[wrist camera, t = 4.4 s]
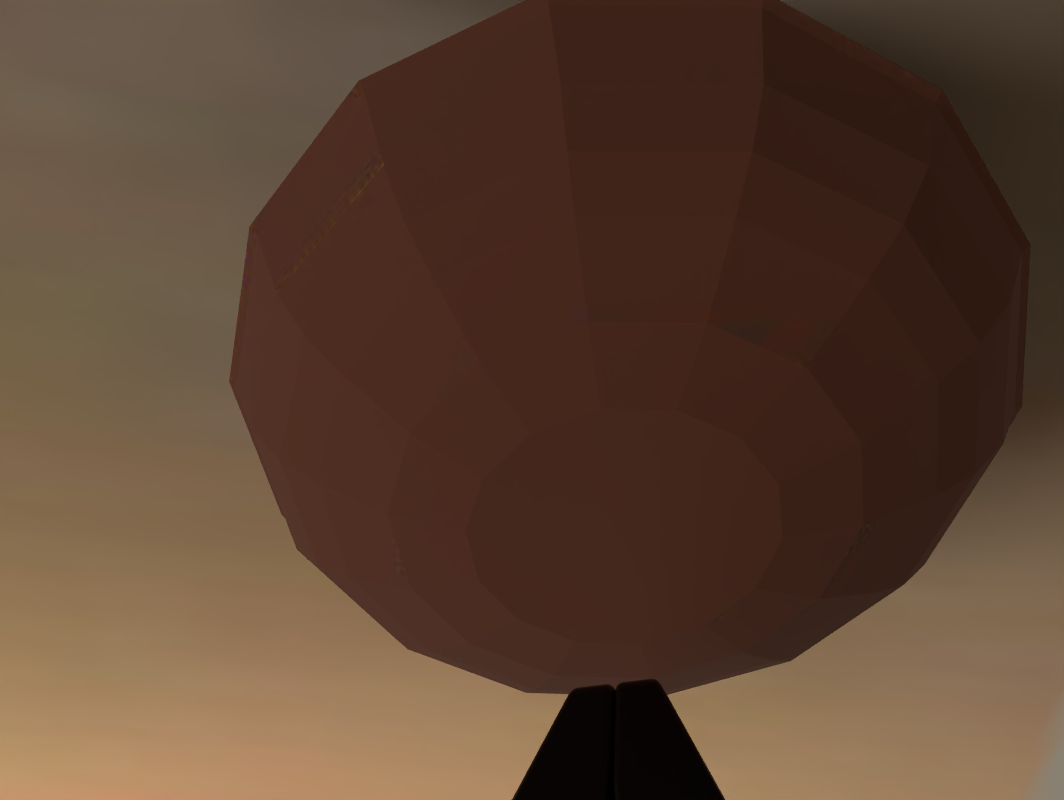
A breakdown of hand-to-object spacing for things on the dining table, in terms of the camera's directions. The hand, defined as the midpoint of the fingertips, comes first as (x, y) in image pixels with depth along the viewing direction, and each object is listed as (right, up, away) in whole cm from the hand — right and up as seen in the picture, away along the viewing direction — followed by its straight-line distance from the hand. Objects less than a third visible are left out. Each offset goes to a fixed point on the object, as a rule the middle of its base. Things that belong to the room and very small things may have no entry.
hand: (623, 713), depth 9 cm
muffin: (+1, +7, +11) cm, 13 cm away
